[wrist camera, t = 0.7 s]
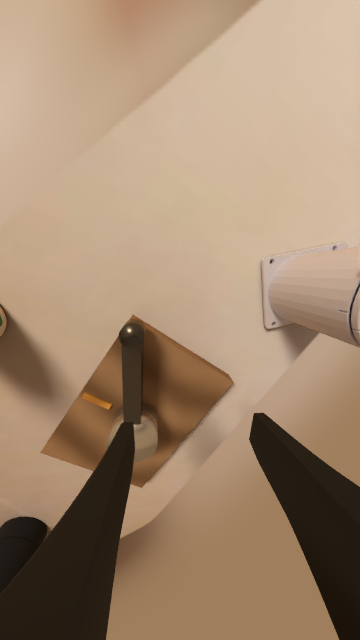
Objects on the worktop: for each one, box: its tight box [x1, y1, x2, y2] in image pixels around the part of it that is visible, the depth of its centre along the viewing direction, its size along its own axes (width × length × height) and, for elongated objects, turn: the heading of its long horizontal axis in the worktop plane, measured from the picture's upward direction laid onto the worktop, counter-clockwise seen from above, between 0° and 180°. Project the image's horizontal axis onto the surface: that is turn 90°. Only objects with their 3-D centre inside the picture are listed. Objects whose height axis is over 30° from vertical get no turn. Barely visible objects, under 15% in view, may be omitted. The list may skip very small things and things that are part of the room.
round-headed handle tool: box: [106, 319, 158, 463], centre depth 17 cm, size 15×5×3 cm, turn 176°
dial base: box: [40, 315, 233, 488], centre depth 20 cm, size 20×14×2 cm
